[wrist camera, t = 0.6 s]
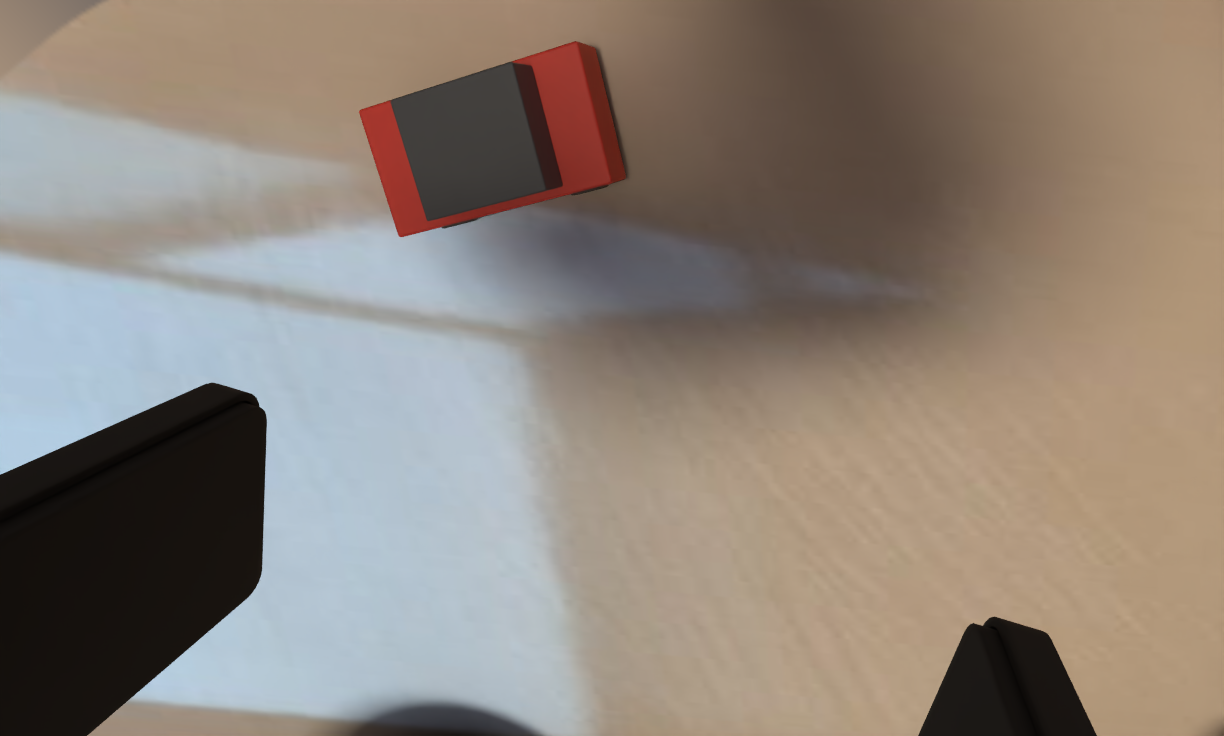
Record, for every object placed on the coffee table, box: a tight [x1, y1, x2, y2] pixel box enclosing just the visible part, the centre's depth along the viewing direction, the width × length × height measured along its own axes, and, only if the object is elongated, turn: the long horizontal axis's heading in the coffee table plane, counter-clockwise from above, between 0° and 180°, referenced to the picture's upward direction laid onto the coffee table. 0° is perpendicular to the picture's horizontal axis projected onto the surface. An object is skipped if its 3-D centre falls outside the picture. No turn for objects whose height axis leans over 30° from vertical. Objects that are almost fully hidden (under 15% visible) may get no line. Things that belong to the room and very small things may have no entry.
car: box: [359, 41, 626, 237], centre depth 25 cm, size 8×5×5 cm, turn 104°
